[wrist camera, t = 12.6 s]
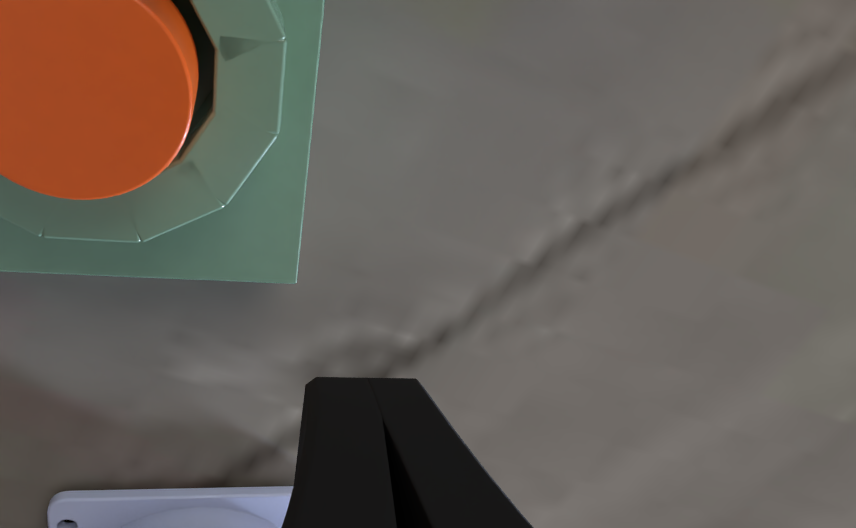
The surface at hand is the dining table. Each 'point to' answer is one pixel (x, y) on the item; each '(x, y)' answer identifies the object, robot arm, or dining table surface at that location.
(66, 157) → the button
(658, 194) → the dining table surface
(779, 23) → the dining table surface
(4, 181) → the button box
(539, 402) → the dining table surface
